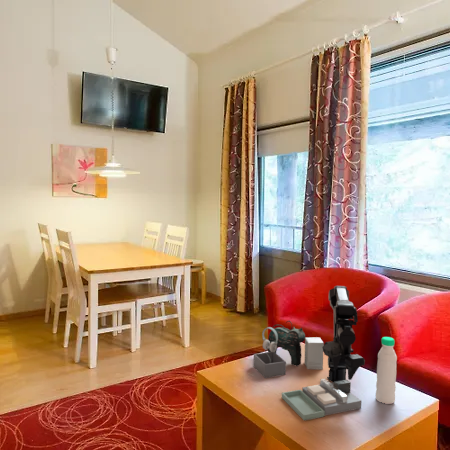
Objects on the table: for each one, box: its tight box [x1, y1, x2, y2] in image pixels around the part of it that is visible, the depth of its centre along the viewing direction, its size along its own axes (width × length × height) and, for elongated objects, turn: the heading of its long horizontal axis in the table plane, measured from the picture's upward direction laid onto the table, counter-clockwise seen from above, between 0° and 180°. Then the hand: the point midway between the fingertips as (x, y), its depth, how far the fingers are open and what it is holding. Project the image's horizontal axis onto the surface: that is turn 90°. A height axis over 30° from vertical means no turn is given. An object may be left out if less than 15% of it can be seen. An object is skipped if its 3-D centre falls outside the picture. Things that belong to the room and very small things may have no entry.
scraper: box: [319, 378, 351, 403], centre depth 158 cm, size 8×15×4 cm, turn 20°
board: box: [301, 382, 362, 416], centre depth 157 cm, size 16×16×3 cm
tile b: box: [317, 393, 336, 404], centre depth 152 cm, size 5×5×1 cm
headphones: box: [261, 326, 278, 364], centre depth 182 cm, size 8×4×20 cm, turn 46°
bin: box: [281, 389, 326, 421], centre depth 153 cm, size 8×17×2 cm, turn 20°
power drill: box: [267, 320, 306, 367], centre depth 194 cm, size 20×6×20 cm, turn 43°
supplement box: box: [304, 337, 325, 370], centre depth 188 cm, size 7×7×13 cm
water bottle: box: [375, 336, 398, 405], centre depth 157 cm, size 7×7×25 cm
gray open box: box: [253, 351, 287, 379], centre depth 183 cm, size 10×12×6 cm
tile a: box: [306, 384, 325, 395], centre depth 158 cm, size 5×5×1 cm
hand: (342, 374), depth 158 cm, fingers open, 9 cm apart
